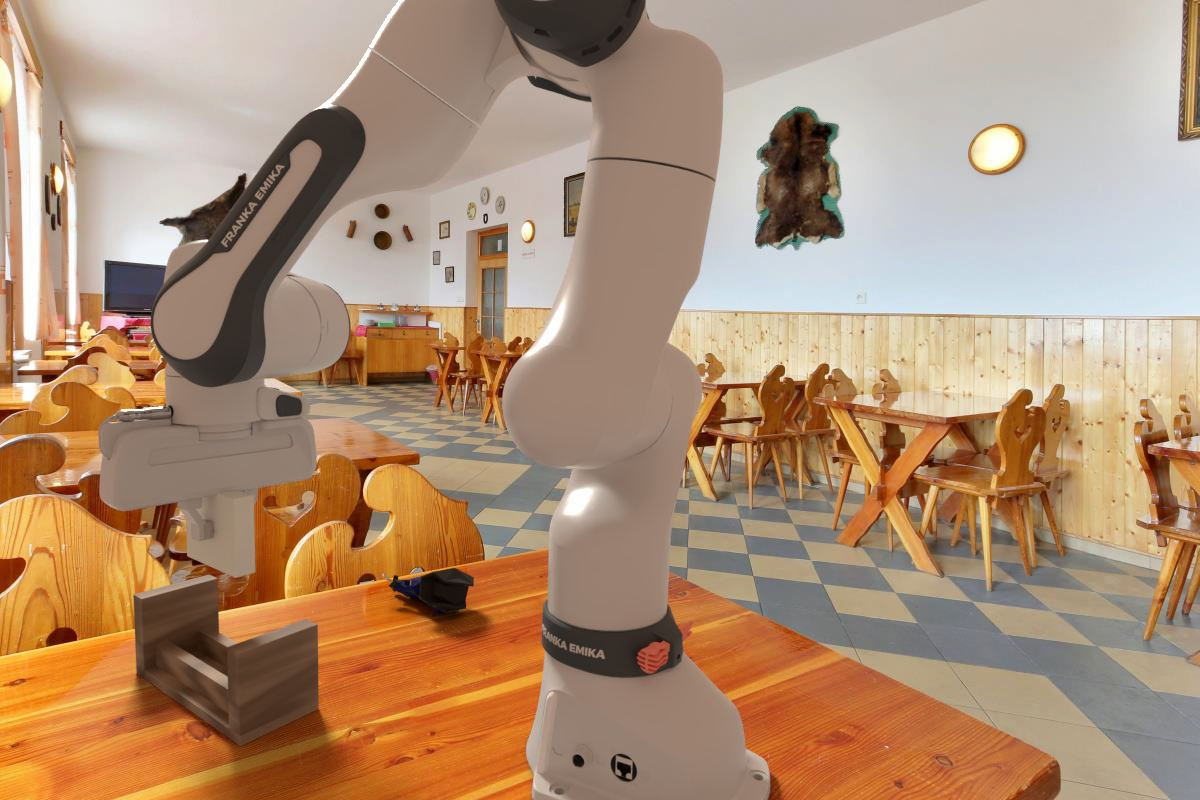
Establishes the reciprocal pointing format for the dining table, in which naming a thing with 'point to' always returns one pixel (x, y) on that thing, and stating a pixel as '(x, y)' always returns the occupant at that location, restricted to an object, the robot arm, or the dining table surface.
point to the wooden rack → (224, 662)
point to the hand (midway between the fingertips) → (220, 535)
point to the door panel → (227, 534)
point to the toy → (437, 589)
